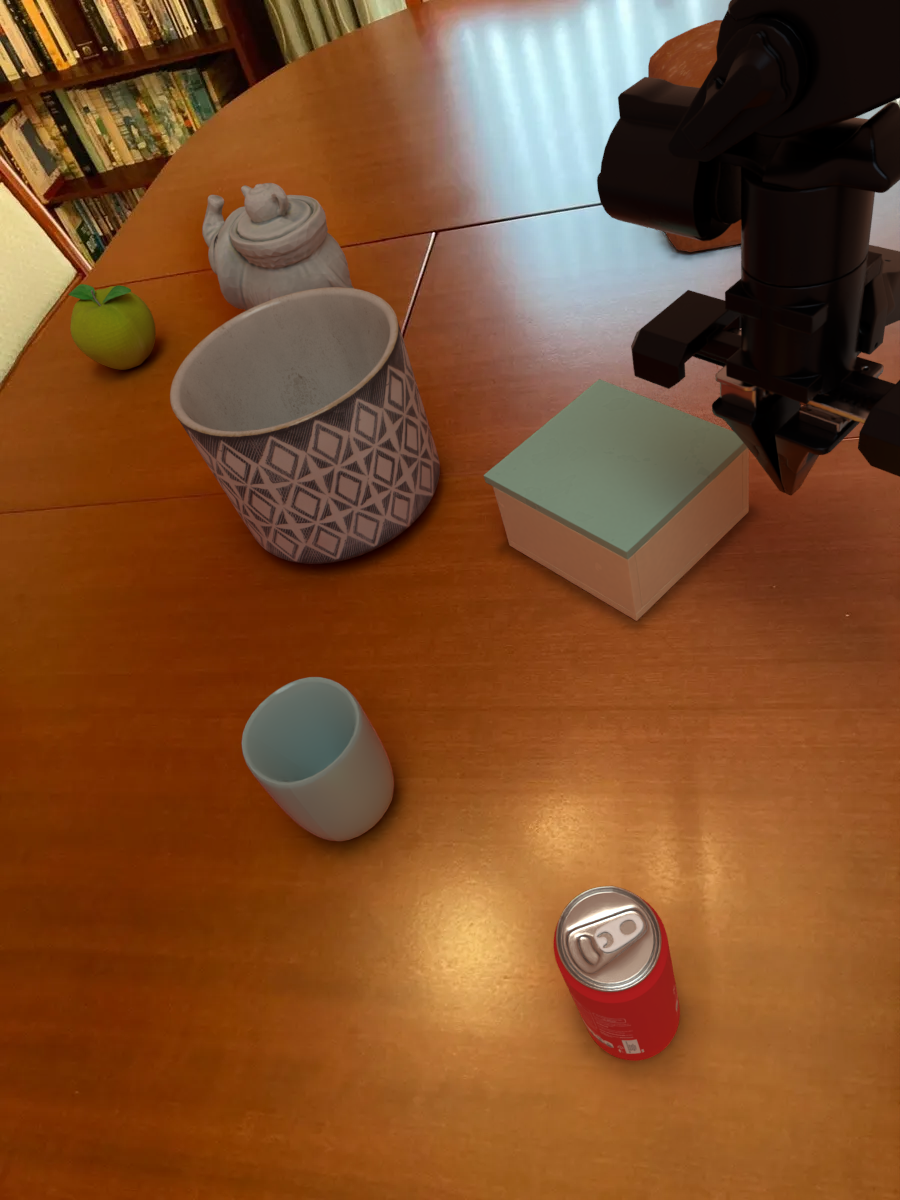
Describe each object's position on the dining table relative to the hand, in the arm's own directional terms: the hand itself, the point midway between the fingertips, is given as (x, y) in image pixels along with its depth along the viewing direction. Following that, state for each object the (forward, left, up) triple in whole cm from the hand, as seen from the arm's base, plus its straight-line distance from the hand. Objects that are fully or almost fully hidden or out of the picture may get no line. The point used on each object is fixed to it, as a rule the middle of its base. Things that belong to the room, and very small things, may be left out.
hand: (790, 489), depth 54 cm
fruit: (+79, -32, -12) cm, 86 cm away
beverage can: (+6, +29, -12) cm, 32 cm away
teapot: (+56, -36, -12) cm, 67 cm away
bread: (+10, -61, -12) cm, 63 cm away
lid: (+13, -8, -5) cm, 16 cm away
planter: (+39, -9, -12) cm, 42 cm away
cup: (+27, +20, -12) cm, 36 cm away
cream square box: (+13, -7, -12) cm, 19 cm away
